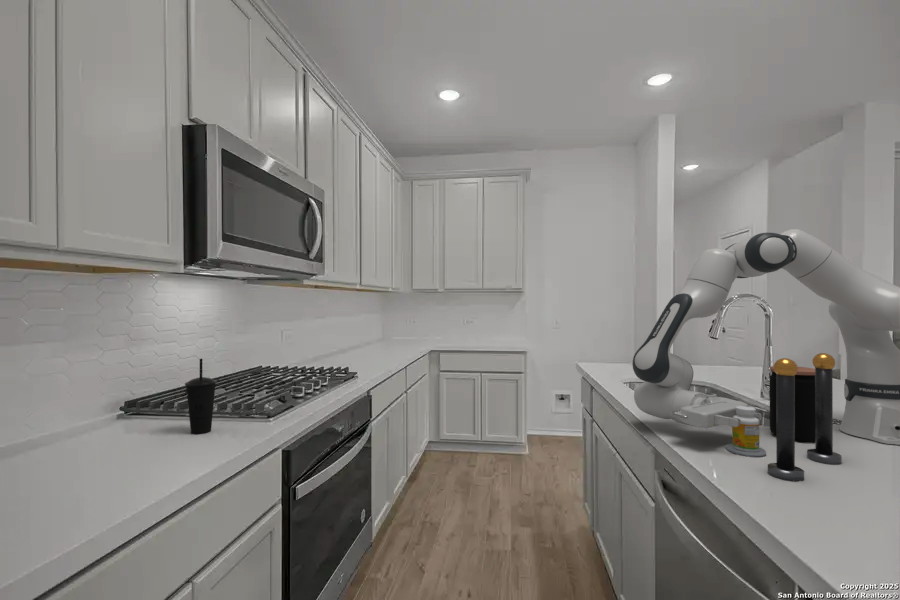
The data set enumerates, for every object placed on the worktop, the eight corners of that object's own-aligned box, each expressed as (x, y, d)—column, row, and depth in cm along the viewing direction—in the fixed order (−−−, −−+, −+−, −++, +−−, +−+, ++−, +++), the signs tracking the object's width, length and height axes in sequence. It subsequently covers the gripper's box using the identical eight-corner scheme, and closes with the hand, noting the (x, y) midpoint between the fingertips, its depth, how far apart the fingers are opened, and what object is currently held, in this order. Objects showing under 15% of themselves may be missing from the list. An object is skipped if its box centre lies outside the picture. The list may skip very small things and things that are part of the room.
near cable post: (801, 473, 94) (801, 357, 94) (806, 483, 89) (806, 361, 89) (765, 468, 97) (766, 355, 97) (769, 477, 92) (769, 359, 92)
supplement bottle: (728, 444, 111) (728, 404, 111) (752, 445, 110) (752, 405, 110) (738, 451, 106) (738, 410, 106) (763, 453, 105) (763, 411, 105)
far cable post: (837, 458, 103) (837, 352, 103) (844, 466, 98) (844, 355, 98) (804, 453, 106) (804, 351, 106) (809, 461, 101) (809, 353, 101)
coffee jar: (812, 433, 122) (811, 366, 122) (827, 445, 112) (827, 372, 112) (764, 429, 126) (764, 364, 126) (776, 440, 116) (775, 370, 116)
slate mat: (764, 449, 109) (764, 446, 109) (768, 459, 102) (768, 456, 102) (725, 444, 113) (725, 441, 113) (726, 453, 106) (726, 451, 106)
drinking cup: (183, 430, 125) (184, 358, 125) (214, 426, 130) (214, 356, 130) (185, 437, 119) (185, 361, 119) (218, 432, 123) (218, 359, 123)
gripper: (668, 400, 114) (725, 412, 102) (714, 392, 124) (770, 402, 112) (668, 426, 114) (725, 440, 102) (714, 415, 124) (770, 427, 112)
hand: (749, 420), depth 107 cm, fingers open, 8 cm apart
